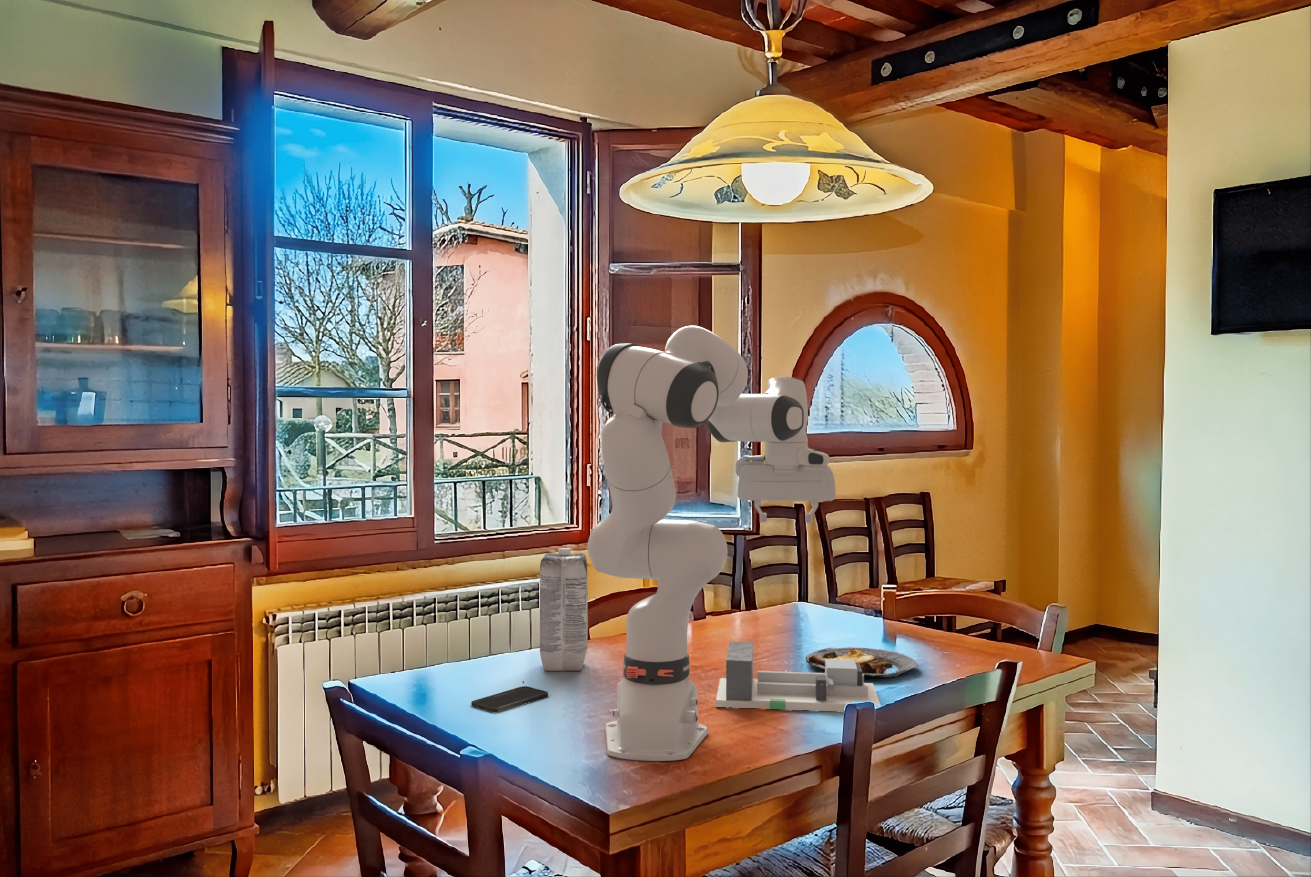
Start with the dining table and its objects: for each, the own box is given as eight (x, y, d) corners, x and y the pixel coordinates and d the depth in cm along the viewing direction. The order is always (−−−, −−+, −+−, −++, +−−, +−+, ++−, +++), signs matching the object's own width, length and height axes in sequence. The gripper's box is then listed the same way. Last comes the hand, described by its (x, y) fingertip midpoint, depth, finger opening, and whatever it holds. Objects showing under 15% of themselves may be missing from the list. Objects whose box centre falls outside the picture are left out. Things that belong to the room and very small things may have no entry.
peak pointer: (826, 703, 194) (827, 682, 194) (816, 702, 194) (816, 682, 194) (825, 696, 199) (825, 676, 199) (815, 695, 199) (815, 675, 199)
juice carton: (585, 672, 223) (585, 552, 222) (538, 672, 222) (538, 552, 222) (588, 662, 231) (588, 546, 231) (542, 662, 231) (542, 546, 230)
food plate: (865, 688, 210) (866, 672, 210) (784, 667, 228) (784, 652, 228) (936, 672, 226) (936, 656, 226) (855, 653, 244) (855, 639, 244)
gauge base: (881, 714, 193) (881, 696, 193) (715, 707, 197) (715, 690, 197) (872, 690, 209) (872, 673, 209) (720, 685, 213) (720, 668, 213)
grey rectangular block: (751, 701, 196) (751, 661, 196) (726, 700, 197) (726, 660, 196) (752, 679, 212) (753, 641, 212) (729, 678, 213) (729, 641, 212)
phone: (550, 692, 205) (495, 709, 193) (550, 698, 205) (495, 715, 193) (524, 685, 210) (468, 701, 198) (524, 690, 210) (468, 707, 198)
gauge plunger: (864, 701, 195) (864, 676, 195) (828, 700, 196) (828, 675, 196) (859, 684, 208) (859, 660, 207) (824, 682, 208) (825, 659, 208)
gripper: (735, 456, 204) (735, 523, 205) (836, 456, 202) (836, 524, 203) (735, 454, 210) (736, 519, 211) (834, 454, 208) (833, 520, 209)
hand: (786, 522), depth 207 cm, fingers open, 8 cm apart
